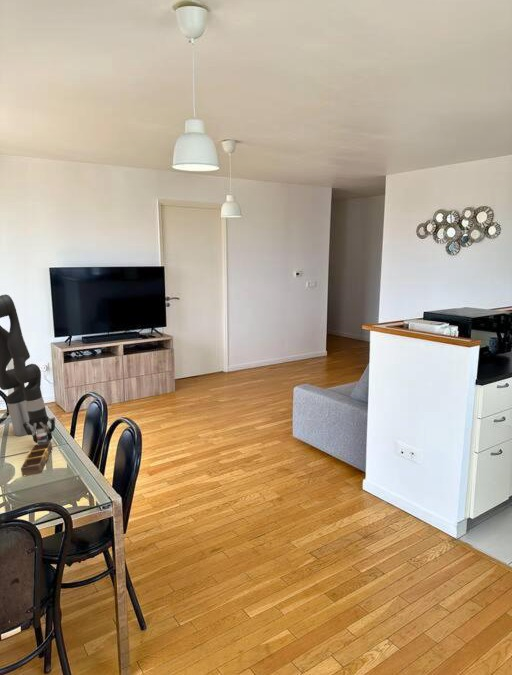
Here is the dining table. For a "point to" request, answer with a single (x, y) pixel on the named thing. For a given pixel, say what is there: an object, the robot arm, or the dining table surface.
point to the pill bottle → (42, 436)
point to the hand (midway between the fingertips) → (43, 440)
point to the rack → (36, 459)
